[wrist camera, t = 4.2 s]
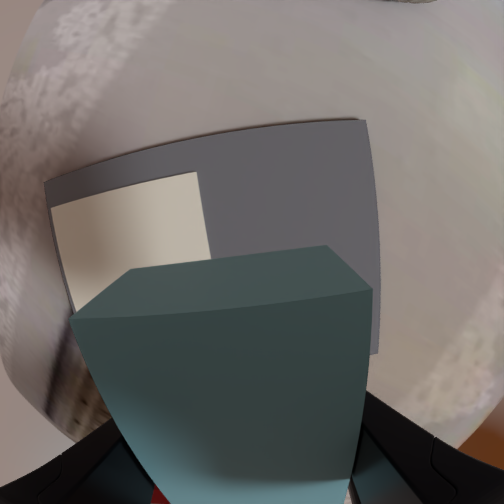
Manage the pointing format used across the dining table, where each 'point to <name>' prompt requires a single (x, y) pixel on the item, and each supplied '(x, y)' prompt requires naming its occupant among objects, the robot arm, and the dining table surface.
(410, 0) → the canister
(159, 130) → the dining table surface
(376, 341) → the mat
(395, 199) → the dining table surface
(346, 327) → the block
